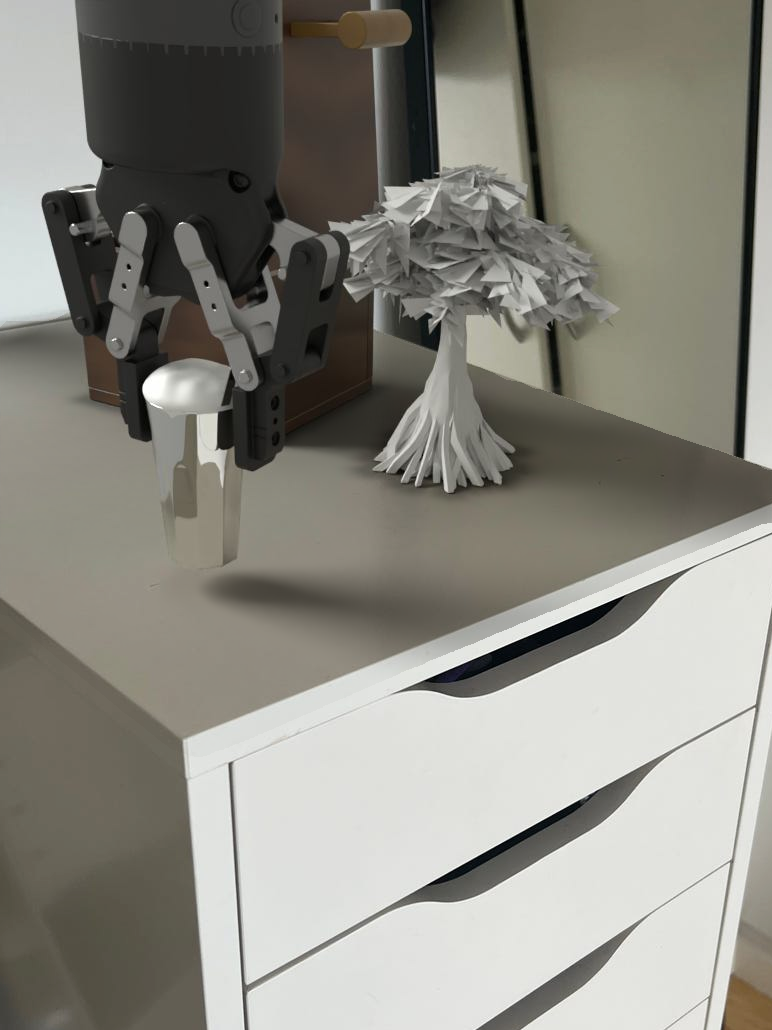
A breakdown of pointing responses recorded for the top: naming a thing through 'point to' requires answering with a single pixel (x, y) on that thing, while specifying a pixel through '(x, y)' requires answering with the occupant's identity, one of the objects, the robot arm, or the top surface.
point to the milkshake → (196, 460)
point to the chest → (303, 397)
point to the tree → (463, 301)
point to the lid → (331, 109)
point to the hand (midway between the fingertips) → (202, 448)
